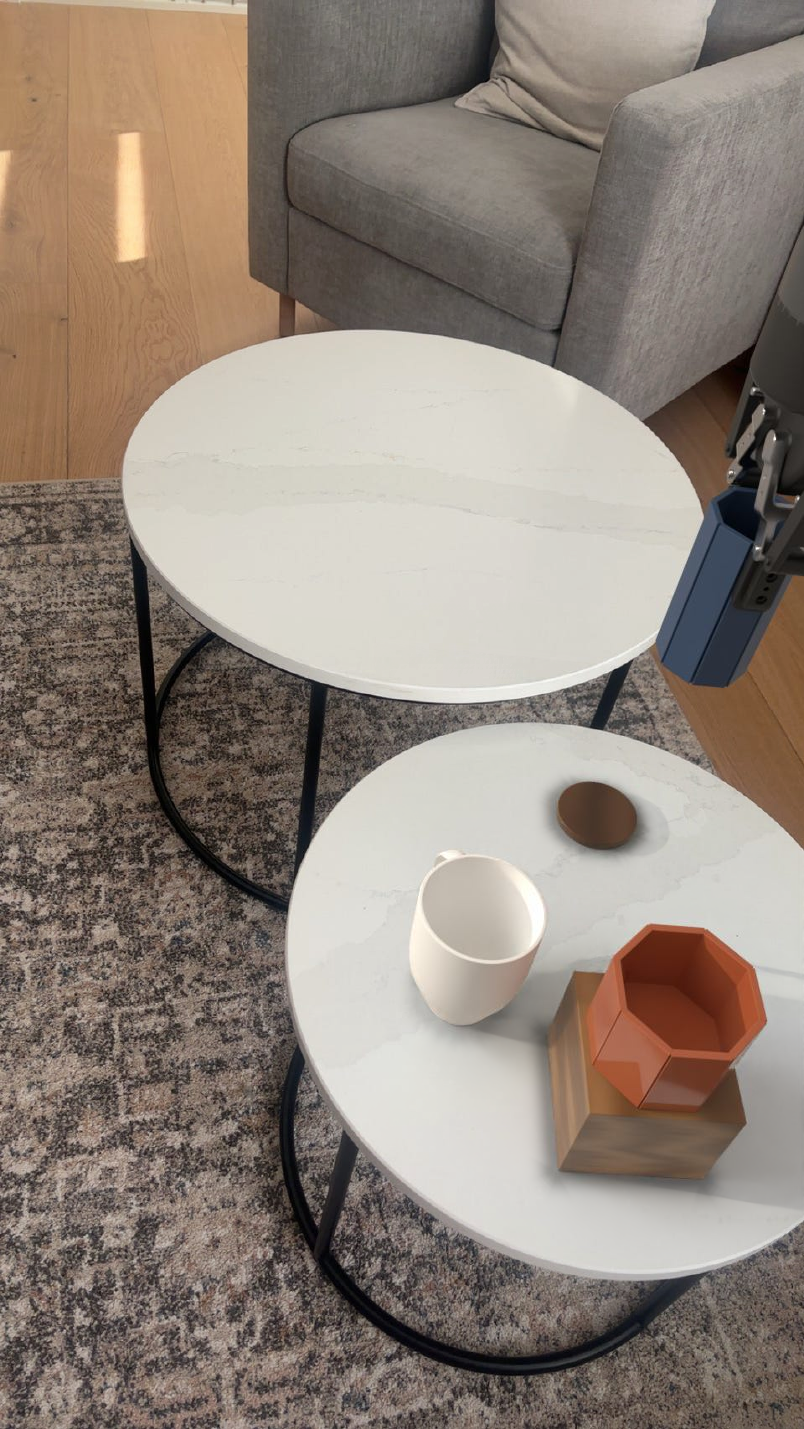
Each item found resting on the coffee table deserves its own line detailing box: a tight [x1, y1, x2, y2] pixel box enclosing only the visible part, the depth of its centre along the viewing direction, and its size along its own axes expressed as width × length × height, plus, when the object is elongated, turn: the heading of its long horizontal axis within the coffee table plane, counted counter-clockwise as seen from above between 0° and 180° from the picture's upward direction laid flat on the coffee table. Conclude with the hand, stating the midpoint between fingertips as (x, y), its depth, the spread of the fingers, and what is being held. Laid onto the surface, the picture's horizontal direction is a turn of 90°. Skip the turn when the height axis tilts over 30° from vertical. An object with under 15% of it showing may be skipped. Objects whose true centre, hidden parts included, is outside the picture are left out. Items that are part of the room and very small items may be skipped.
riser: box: [546, 970, 747, 1180], centre depth 74 cm, size 10×10×9 cm
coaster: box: [555, 781, 638, 851], centre depth 95 cm, size 7×7×1 cm
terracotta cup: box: [586, 923, 768, 1112], centre depth 68 cm, size 9×9×7 cm
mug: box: [408, 849, 548, 1026], centre depth 78 cm, size 12×9×12 cm
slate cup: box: [654, 486, 795, 689], centre depth 66 cm, size 6×6×11 cm
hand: (737, 571), depth 65 cm, fingers closed on slate cup, 5 cm apart
